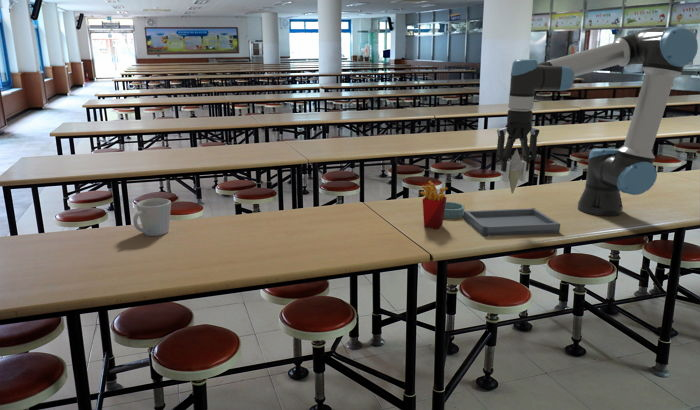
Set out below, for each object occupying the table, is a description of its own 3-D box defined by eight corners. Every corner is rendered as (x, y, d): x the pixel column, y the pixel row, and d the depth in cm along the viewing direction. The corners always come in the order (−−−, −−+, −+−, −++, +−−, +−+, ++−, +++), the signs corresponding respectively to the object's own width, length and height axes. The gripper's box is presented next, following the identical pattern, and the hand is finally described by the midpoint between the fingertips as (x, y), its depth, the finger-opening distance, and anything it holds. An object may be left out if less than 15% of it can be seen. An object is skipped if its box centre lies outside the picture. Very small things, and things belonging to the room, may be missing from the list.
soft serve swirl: (521, 195, 180) (525, 150, 176) (505, 194, 181) (508, 149, 177) (519, 191, 185) (523, 147, 180) (504, 190, 186) (507, 146, 181)
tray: (533, 216, 196) (534, 208, 196) (559, 232, 179) (560, 224, 178) (463, 219, 193) (464, 211, 192) (483, 236, 175) (483, 227, 175)
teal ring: (457, 209, 205) (458, 201, 204) (468, 217, 195) (468, 209, 194) (430, 210, 203) (430, 202, 202) (439, 218, 193) (439, 210, 192)
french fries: (445, 224, 187) (448, 181, 182) (439, 231, 179) (441, 187, 175) (420, 221, 190) (422, 178, 186) (413, 228, 183) (414, 184, 179)
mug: (180, 229, 180) (177, 199, 178) (150, 244, 167) (147, 212, 164) (153, 225, 184) (150, 196, 181) (122, 240, 170) (118, 208, 167)
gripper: (541, 108, 180) (533, 177, 187) (488, 108, 177) (482, 179, 184) (552, 110, 173) (544, 182, 179) (498, 111, 170) (491, 184, 177)
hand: (513, 180), depth 182 cm, fingers closed on soft serve swirl, 5 cm apart
